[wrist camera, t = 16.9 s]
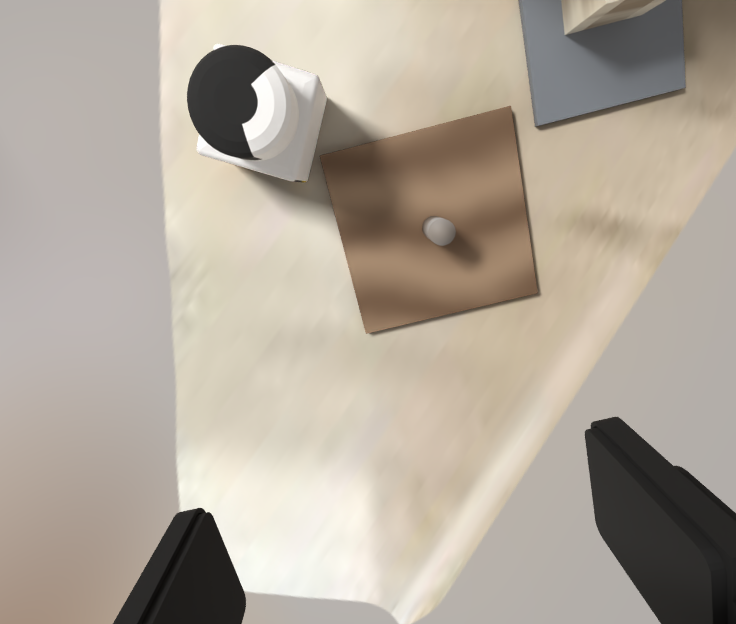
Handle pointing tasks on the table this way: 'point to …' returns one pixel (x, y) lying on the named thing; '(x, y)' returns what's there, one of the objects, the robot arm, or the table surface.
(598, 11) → the ring block
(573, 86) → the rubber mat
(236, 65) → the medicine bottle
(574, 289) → the table surface
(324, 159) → the peg stand
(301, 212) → the table surface
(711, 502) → the robot arm
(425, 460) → the table surface
